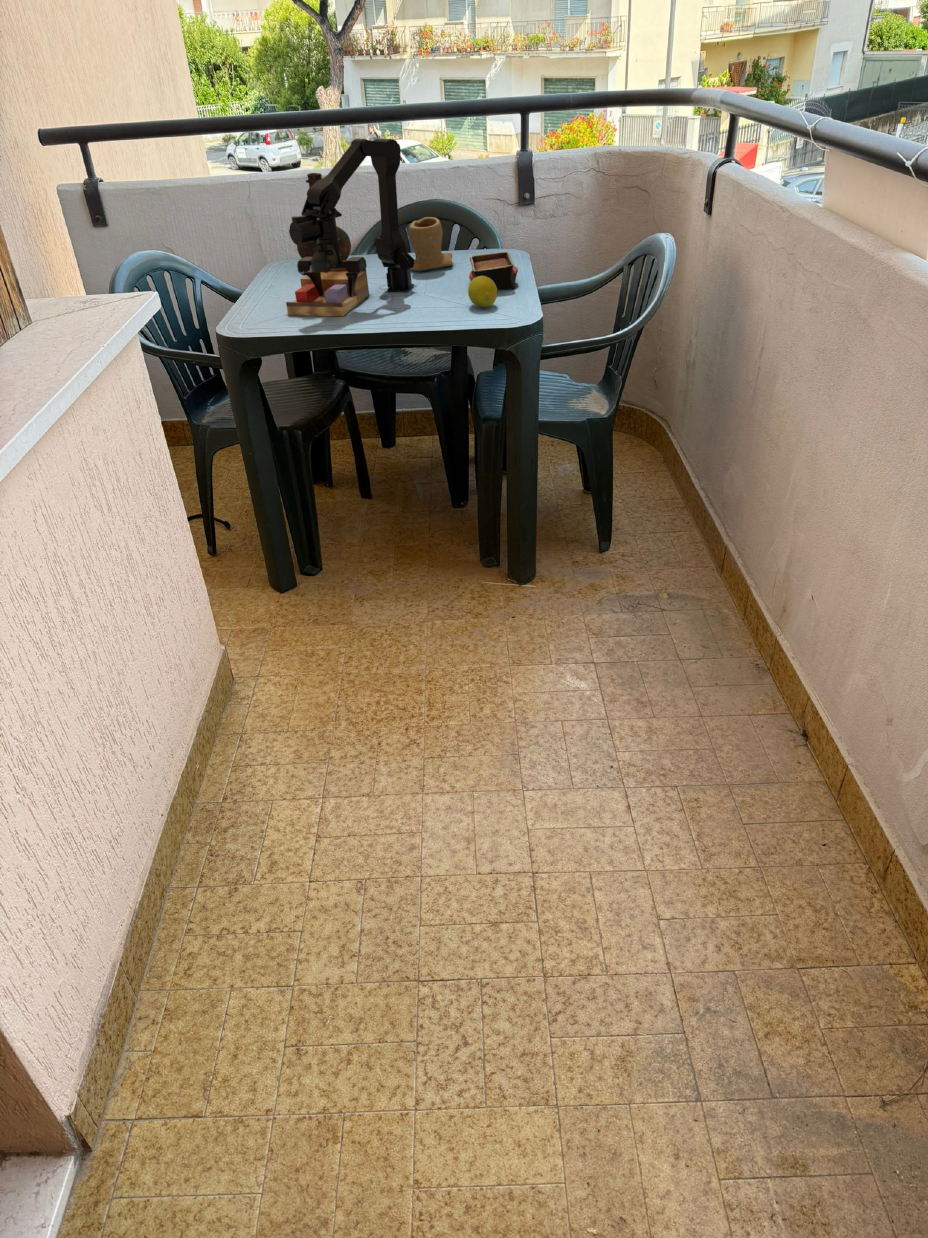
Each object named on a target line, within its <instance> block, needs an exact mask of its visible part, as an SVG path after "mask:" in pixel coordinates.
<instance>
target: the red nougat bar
mask: <svg viewBox="0 0 928 1238" xmlns="http://www.w3.org/2000/svg"><path fill="white" fill-rule="evenodd" d="M294 294H295V300H296V301H297V302H312V301H313V300H315V299H316V298H318V297H319V293H318V291H317V290H316V288H315V286H314V284H306V285H304V286H303V287H301V286H300V287H299V288H298V289H297V290H295V291H294Z"/></svg>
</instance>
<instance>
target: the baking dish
mask: <svg viewBox="0 0 928 1238" xmlns="http://www.w3.org/2000/svg"><path fill="white" fill-rule="evenodd" d="M469 261H470V265H471V268H472V270H471V271H470V272H469V274H468V278H469V280H470V282H471V281H472V280H473V279H474V278H476V277H478V276H486V277H488V278H490V279H491V280H493V282H494V283H495V285H496V287H497V290H502V291H503V290H504V291H507V290H515V289H516V280H517V276H518V272H519V269H518V266H517V267H516V266H515V265H514V264H515V263H514V262H513V260H512V257H511V254H510V252H509V251H500V252H489V253H481V254H475V255H474V254H473V255H471V256H470V257H469Z"/></svg>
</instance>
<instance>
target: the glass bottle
mask: <svg viewBox="0 0 928 1238" xmlns="http://www.w3.org/2000/svg"><path fill="white" fill-rule="evenodd" d="M306 177H307V179H306V180H305V183H307V184H308V189H309V188H310V187H311V186H312V185H313V184H314V183H316V182H317V181H318V180H320V179H322V178H323V177H322V173H320V172H310V173H308V174H306ZM313 210H317V209H313ZM317 211H320V210H317ZM337 233H338V239H340V241H341V243H340V244H339V247H340V254H341V255H343V259H341V261H347V260H348V259H349V258H350V257H349V256H350V254H351V252H352V242H351V238H350V236H349V234H348V233H347V231H345V230H344V229H343V228H341V227H339V226H337ZM316 243H318V241H317V240H316V241H313V242H309V243H305V244H302V245H296V249H297V252H298V255H299V257H300V258H301V259H302V258H304V257H313V255H314V254H315V253H316ZM337 265H338V264H337Z"/></svg>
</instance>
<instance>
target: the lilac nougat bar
mask: <svg viewBox="0 0 928 1238" xmlns="http://www.w3.org/2000/svg"><path fill="white" fill-rule="evenodd" d="M324 294H325V300H326V303H341V302H342V301H343V300H344V299H346V298H347V297H348V294H347V287H346V285H334V286H332V287H331V288H329V289H328V290H327V291H325V292H324Z"/></svg>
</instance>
